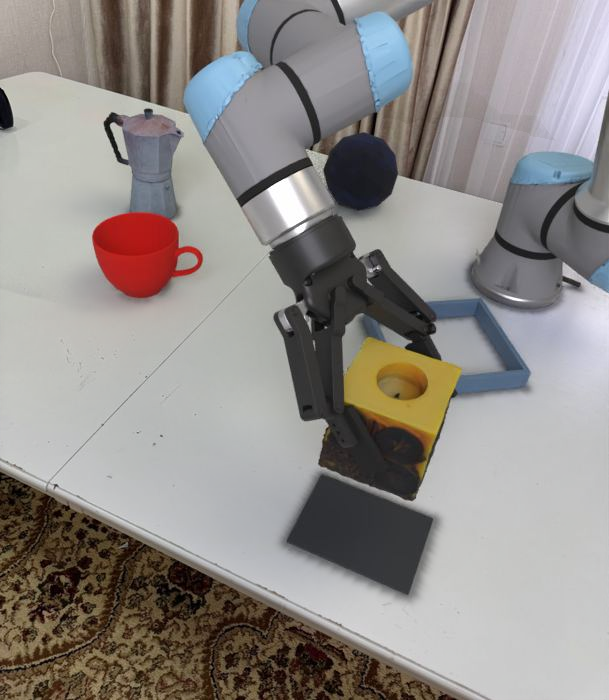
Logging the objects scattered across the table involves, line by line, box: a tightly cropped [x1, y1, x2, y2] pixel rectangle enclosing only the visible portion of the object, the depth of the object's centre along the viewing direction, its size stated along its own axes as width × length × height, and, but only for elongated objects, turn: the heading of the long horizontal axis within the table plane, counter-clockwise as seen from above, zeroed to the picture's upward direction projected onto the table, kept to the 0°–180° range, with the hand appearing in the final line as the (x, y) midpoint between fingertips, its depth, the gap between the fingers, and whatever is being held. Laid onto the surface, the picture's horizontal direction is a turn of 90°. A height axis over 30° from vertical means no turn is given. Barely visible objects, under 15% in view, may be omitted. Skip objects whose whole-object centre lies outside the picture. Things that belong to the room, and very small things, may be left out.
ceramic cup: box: [91, 212, 204, 299], centre depth 98 cm, size 13×17×10 cm
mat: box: [286, 474, 434, 596], centre depth 70 cm, size 14×10×1 cm
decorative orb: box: [322, 131, 399, 211], centre depth 123 cm, size 14×15×15 cm
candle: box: [317, 335, 463, 502], centre depth 60 cm, size 10×10×10 cm
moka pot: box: [102, 107, 185, 220], centre depth 113 cm, size 10×15×20 cm, turn 78°
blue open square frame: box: [362, 297, 532, 395], centre depth 93 cm, size 20×18×3 cm
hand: (413, 431), depth 59 cm, fingers closed on candle, 12 cm apart
